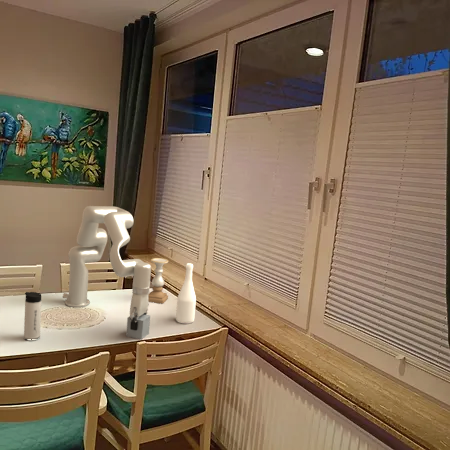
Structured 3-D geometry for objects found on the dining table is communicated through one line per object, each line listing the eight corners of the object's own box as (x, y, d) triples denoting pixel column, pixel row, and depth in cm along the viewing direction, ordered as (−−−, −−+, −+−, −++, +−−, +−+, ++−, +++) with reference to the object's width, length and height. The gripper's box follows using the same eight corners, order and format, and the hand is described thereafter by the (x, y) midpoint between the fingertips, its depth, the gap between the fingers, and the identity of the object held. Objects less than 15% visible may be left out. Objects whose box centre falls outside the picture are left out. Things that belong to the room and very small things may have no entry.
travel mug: (26, 334, 188) (27, 290, 185) (41, 335, 188) (43, 291, 186) (20, 340, 182) (22, 294, 179) (36, 341, 182) (38, 295, 180)
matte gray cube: (126, 336, 197) (127, 317, 195) (133, 330, 204) (135, 312, 203) (141, 339, 195) (143, 320, 194) (148, 333, 202) (150, 315, 201)
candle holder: (150, 296, 259) (153, 256, 255) (168, 298, 257) (171, 259, 254) (144, 301, 248) (147, 260, 245) (163, 303, 246) (166, 263, 243)
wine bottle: (186, 316, 230) (191, 261, 226) (197, 322, 223) (203, 265, 219) (171, 319, 223) (176, 262, 219) (183, 325, 217) (188, 267, 213)
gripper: (141, 284, 206) (139, 319, 208) (124, 293, 189) (121, 331, 191) (156, 286, 204) (153, 321, 206) (140, 296, 187) (137, 334, 190)
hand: (138, 326), depth 199 cm, fingers open, 9 cm apart
